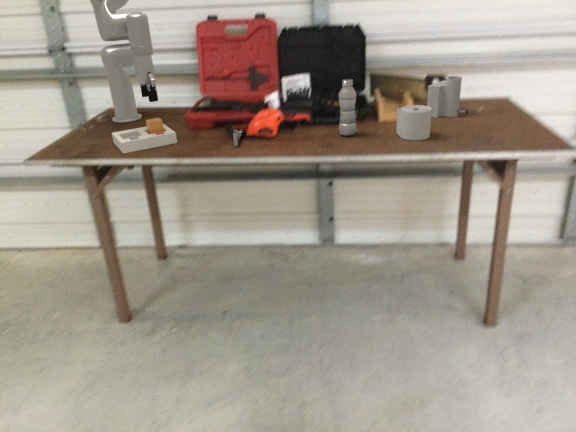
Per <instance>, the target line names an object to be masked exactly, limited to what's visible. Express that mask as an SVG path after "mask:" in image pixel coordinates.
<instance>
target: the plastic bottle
mask: <svg viewBox="0 0 576 432" xmlns="http://www.w3.org/2000/svg"><path fill="white" fill-rule="evenodd" d="M353 81H354V80H353V79H351V78H344V79H342V84H341V85H342V88H340V91H339V92H338V101H339V112H340V115H339V116H340V117H339V124H338V132H339V133H340V135H341V136H353V135H355V134H356V132H357V123H356V102H357V92H356V90H355V89H354V87H353V85H354V83H353Z"/></svg>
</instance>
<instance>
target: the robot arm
mask: <svg viewBox="0 0 576 432" xmlns="http://www.w3.org/2000/svg"><path fill="white" fill-rule="evenodd" d="M89 2H90V4H91V6H92V8H93V13H94V18H95V21H96V26H97V30H98V33H99V37H100V38H101V40H102V41H104V42H118V41H128V42H126V43H117V44H110V45H106V46H104V47H103V48H102V49H101V50H100V58H101V61H102V64H103V66H104V67H103V68H104V69H105V73H106V77H107V81H108V86H109V90H110V95H111V100H112V101H111V102H112V106H113V110H114V116H113V117H112V122H113V123H120V124H123V123H124V124H125V123H132V122H135V121H138V120H141V119H142V117H143V115H142V114H141V113H138V109H137V102H136V98H135V93H134V88H133V81H132V78H131V76H130V75H129V74H128V73H127V72H126V71H125V70H124V69H125V68H130V67H134V72H135V77H136V82H137V83H139V85H140V92H141V97H142V98H147V97H148V102H150V103H155V102H158V101H159V96H158V91H157V90H158V89H157V86H156V85H157V84H156V82H157V80H156V72H155V67H154V63H153V59H152V56H153V55H154V48H153V44H152V37H151V36H152V35H151V30H150V24H149V18H148V15H147V14H146V13H144V12H141V11H137V10H136V11H123V12H116V11H118V10H120V9H121V8H123V7H124V6H126V5H127V3H128V2H129V0H89Z"/></svg>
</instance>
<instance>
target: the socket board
mask: <svg viewBox="0 0 576 432" xmlns="http://www.w3.org/2000/svg"><path fill="white" fill-rule="evenodd" d="M163 127H164V131H160V132H155V133H153V134H148V130H147V125H146V126H143V127H142V126H141V127H136V128H132V129H130V128H129V129H125V130H121V131H114V132H111V137H112V140H113V144H114V145H115V146H116V148H118V150H119V151H120V152H121V153H122V154H129V153H135V152H139V151H140V152H141V151H144V150H148V149H153V148H159V147H163V146H168V145H173V144H178V140H177V139H178V137H177V133H176V132H175V131H174V130H173V129H172V128H170V127H168V126H167V125H166V124H164V123H163Z"/></svg>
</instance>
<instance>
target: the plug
mask: <svg viewBox="0 0 576 432" xmlns="http://www.w3.org/2000/svg"><path fill="white" fill-rule="evenodd" d="M163 121H164V120H163V119H161V118H160V117H154V118H149V119H146V120H145V123H146V126H147V130H148V134H153V133H155V132H160V131H164V127H163V124H164V122H163Z"/></svg>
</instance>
